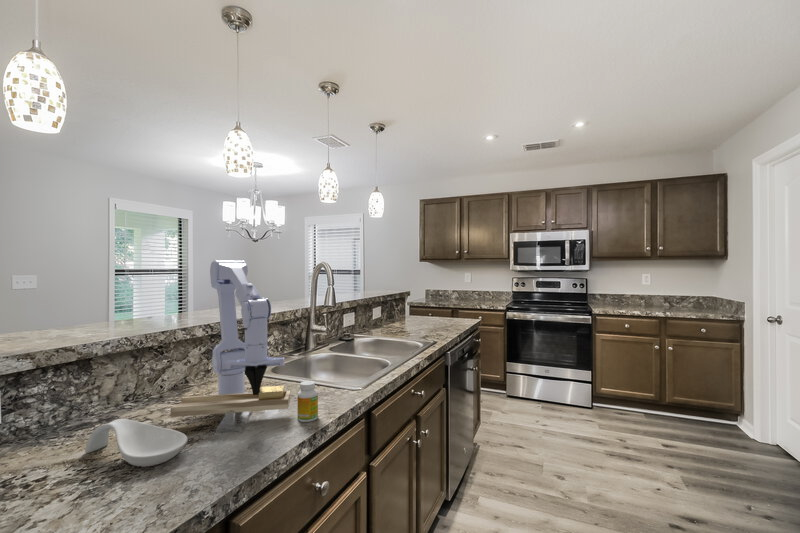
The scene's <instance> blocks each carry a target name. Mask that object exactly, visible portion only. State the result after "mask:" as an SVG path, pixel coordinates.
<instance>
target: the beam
mask: <svg viewBox="0 0 800 533" xmlns="http://www.w3.org/2000/svg"><path fill="white" fill-rule="evenodd" d="M291 393H292V392H291V390H290V389H287V390H286V389H284V399H270V400H259V395H253V392H248V393H235V394H220V395H218V394H206V395H195V396H194V395H191V396H188V395H187V396H182V397H181V398H180V400H181V402H180V403H179V404H178V405H172V406H171V407H170V418H176V417H177V418H179V417H181V418H182V417H190V416H193V417H194V416H205V415H206V416H207V415H219V414H225V413H226V412H227V411H235V412H249V411H251V412H260V411H272V410H288V409H289V406H290V402H291V397H292V396H291Z"/></svg>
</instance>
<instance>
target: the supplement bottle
mask: <svg viewBox="0 0 800 533" xmlns="http://www.w3.org/2000/svg"><path fill="white" fill-rule="evenodd" d="M318 417H319V391H318V390H317V389H316V382H315V381H313V380H304V381H301V382H300V383H299V391H298V392H297V420H298V421H299V422H301V423H308V422H309V423H310V422H314V421H315V420H317V419H318Z"/></svg>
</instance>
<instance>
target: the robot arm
mask: <svg viewBox="0 0 800 533" xmlns="http://www.w3.org/2000/svg"><path fill="white" fill-rule="evenodd" d="M248 268H249V267H248V264H247V262H246V261H245V260H243V259H241V260H219V259H218V260H217V259H213V261H211V263H210V267H209V274H210V276H209V277H210V284H211V287H212V289H215V290H216V292H217V297H218V310H219V312H218V313H219V322H220V324H219V325H220V333H221V334H220V335H221V336H220V337H221V341H220V342H219V343H218V344H217V345H215V347H214V348H213V350H212V357H211V366H212V367H211V368H212V370H213V372H214V373H215V374H217V375H218V377H217V378H218V379H217V380H218V381H217V382H218V383H217V385H218V387H217V389H218V390H217V395H220V394H235V393H249V392H246V389H245V388H246V382H245V381H246V378H247V380H248V382H249V384H250V387H251V391H252V392H253V395H259V391H260V389H261V387H262V381H263V378H264V376H265V373H266V371H267V369H268V367H276V366H277V367H284V366H285V362H286V360H285V357H284V356H282V357H275V356H274V357H272V356H271V357H270V356H269V357H268V320H269V319H270V318H271V315H272V304H271V302H270V300H269V298H267V297H262V296H261V294H260V293H259V291H258V289H257V288H256V286H255V285H254V284H253V283H252V282H251V283H250V282H249V280H248V278H247V276H248ZM235 297H236V298H235ZM236 299H237V300H238V302H239V305H240V307H241V309H240V313H241V314H240V315H241V319H242V326H243V328H244V342H243V341H242V340H240V339H239V331H238V330H239V329H238V320H237V319H238V318H237V308H236Z"/></svg>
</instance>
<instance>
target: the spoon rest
mask: <svg viewBox="0 0 800 533" xmlns="http://www.w3.org/2000/svg"><path fill="white" fill-rule="evenodd" d="M110 429H112V430H113V432H114V433H115V438H116V444H117V448H118V451H119V452H120V455H121V456H122V458H123V459H124V460H125V461H126V462H127V463H128V464H130V465H132V466H136V467H139V466H141V467H140V468H147V467H146V466H148V467H153V466H157V465H160V464H163V463H165V462H167V461H170V460H171V459H172V458H174V457H176V456H177V455H178V454H179V453H180V452H181V451H182V450H183V449H184V448H185V446H186V445H187V443H188V440H189V439H188V436H187V435H186V434H185V433H183V432H181V431H179V430H175V429H171V428H166V427H163V426H157V425H153V424H149V423H145V422H142V421H137V420H133V419H127V418H118V419H114V420H111V421H110V422H108V423H103V424H101V425H99V426H97V427H96V428H95V429H94V430H93V431H92V433H91V434H90V435H89V437H88V439H87V442H86V444H85V449H84V453H86V454H89V453H93V452H95V451H97V450H100V449H102V448H104V447H106V446H108V445H109V436H110V434H109V433H110V431H111V430H110Z"/></svg>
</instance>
